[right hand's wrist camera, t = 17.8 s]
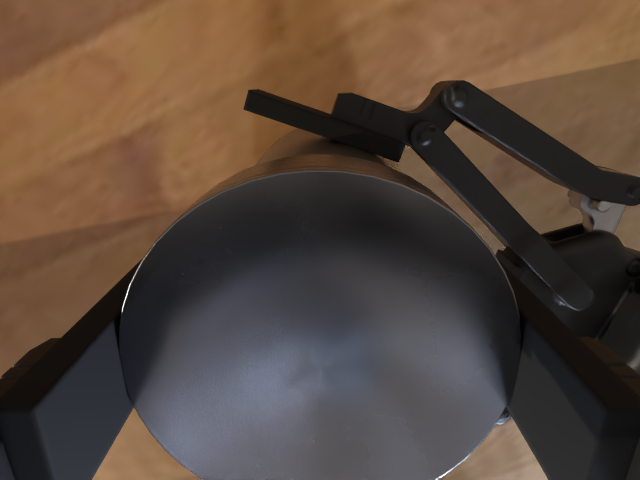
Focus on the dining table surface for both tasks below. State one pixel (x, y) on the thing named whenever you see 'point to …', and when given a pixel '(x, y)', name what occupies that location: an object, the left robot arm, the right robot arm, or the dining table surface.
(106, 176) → the dining table surface
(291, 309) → the lid
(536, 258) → the left robot arm
